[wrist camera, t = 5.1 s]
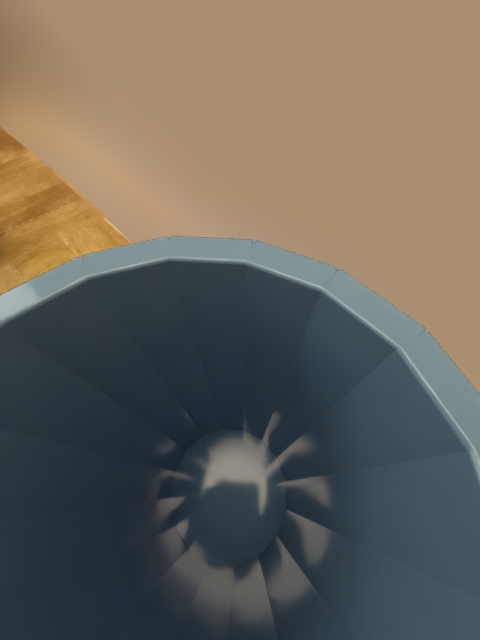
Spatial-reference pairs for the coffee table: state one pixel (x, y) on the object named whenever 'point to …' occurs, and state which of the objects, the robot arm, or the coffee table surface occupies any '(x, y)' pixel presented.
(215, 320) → the tall blue mug
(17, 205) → the coffee table surface
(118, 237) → the coffee table surface
